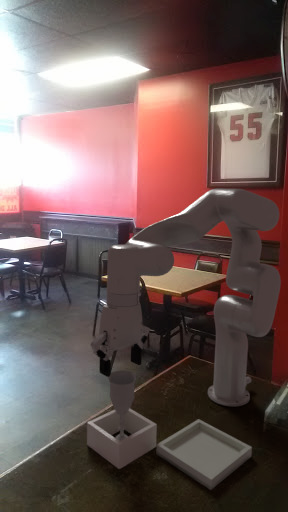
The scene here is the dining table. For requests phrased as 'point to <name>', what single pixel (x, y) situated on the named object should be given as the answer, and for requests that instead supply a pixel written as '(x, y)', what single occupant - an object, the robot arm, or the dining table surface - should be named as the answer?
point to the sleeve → (128, 447)
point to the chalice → (122, 395)
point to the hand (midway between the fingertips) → (120, 368)
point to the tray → (204, 453)
